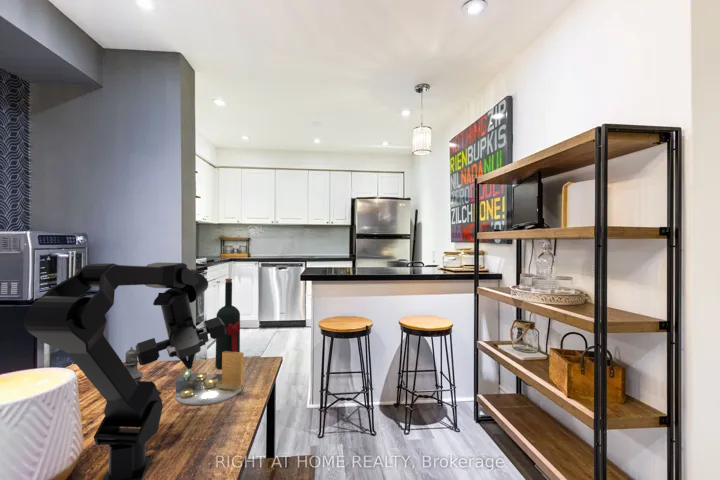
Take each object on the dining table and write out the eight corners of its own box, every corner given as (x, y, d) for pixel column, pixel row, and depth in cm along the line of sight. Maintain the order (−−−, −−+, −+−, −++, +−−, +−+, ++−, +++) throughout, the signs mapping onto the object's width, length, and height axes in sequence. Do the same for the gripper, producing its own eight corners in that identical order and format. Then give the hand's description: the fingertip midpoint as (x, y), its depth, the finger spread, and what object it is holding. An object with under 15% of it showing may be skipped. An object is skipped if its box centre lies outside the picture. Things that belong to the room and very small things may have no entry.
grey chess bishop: (130, 393, 93) (131, 350, 93) (113, 391, 94) (113, 349, 94) (147, 384, 99) (148, 344, 99) (131, 382, 100) (131, 342, 100)
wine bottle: (224, 373, 107) (225, 281, 107) (211, 365, 114) (212, 278, 114) (247, 367, 113) (248, 279, 113) (233, 359, 120) (234, 277, 120)
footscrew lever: (201, 386, 94) (201, 351, 94) (209, 381, 98) (210, 347, 98) (238, 391, 91) (238, 355, 92) (245, 385, 95) (245, 351, 95)
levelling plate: (242, 400, 90) (242, 379, 90) (167, 409, 84) (168, 387, 84) (244, 374, 107) (245, 357, 107) (182, 380, 101) (183, 362, 101)
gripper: (133, 345, 65) (150, 407, 70) (229, 314, 76) (238, 369, 81) (128, 321, 74) (144, 377, 79) (215, 295, 85) (224, 346, 90)
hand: (189, 367), depth 82 cm, fingers closed
